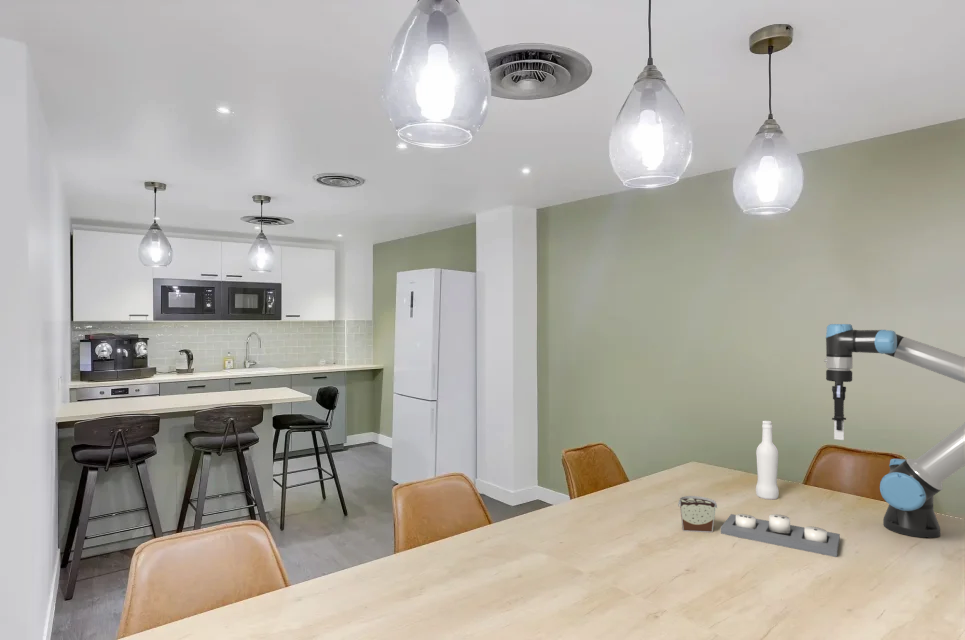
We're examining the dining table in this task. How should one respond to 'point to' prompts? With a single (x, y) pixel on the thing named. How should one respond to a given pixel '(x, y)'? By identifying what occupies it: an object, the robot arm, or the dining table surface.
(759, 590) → the dining table surface
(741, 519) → the three dot button
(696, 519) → the food container
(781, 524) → the two dot button
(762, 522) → the button board
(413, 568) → the dining table surface
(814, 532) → the one dot button
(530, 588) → the dining table surface
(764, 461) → the bottle
